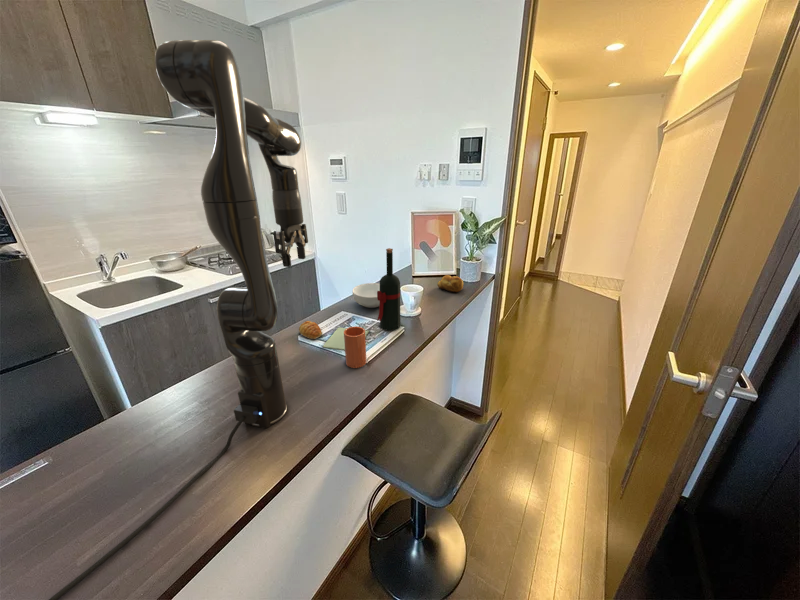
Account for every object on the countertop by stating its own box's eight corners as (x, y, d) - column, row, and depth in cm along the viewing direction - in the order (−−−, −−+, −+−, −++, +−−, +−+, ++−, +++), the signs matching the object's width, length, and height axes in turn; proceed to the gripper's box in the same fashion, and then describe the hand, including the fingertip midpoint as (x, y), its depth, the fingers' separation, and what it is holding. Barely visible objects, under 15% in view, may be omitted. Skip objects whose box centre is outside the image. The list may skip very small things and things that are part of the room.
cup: (362, 369, 98) (360, 337, 94) (343, 366, 99) (340, 335, 95) (368, 358, 104) (367, 327, 99) (350, 355, 105) (348, 325, 101)
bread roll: (434, 289, 159) (434, 274, 156) (442, 283, 167) (443, 269, 163) (458, 295, 153) (459, 279, 149) (466, 288, 160) (467, 273, 157)
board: (356, 351, 107) (356, 350, 107) (322, 347, 110) (322, 346, 110) (369, 331, 120) (369, 330, 120) (338, 328, 122) (338, 327, 122)
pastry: (327, 335, 117) (326, 326, 115) (310, 342, 113) (309, 332, 111) (313, 326, 123) (312, 317, 122) (297, 333, 119) (295, 323, 117)
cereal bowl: (377, 315, 132) (377, 299, 129) (345, 307, 140) (344, 292, 137) (398, 301, 146) (398, 286, 143) (368, 294, 153) (367, 280, 150)
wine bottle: (371, 328, 122) (368, 250, 110) (389, 319, 129) (388, 245, 117) (386, 335, 117) (385, 254, 105) (404, 325, 124) (405, 248, 113)
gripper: (286, 210, 84) (294, 270, 90) (311, 204, 96) (317, 257, 103) (260, 209, 85) (270, 268, 91) (288, 203, 98) (295, 255, 104)
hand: (295, 262), depth 97 cm, fingers open, 8 cm apart
